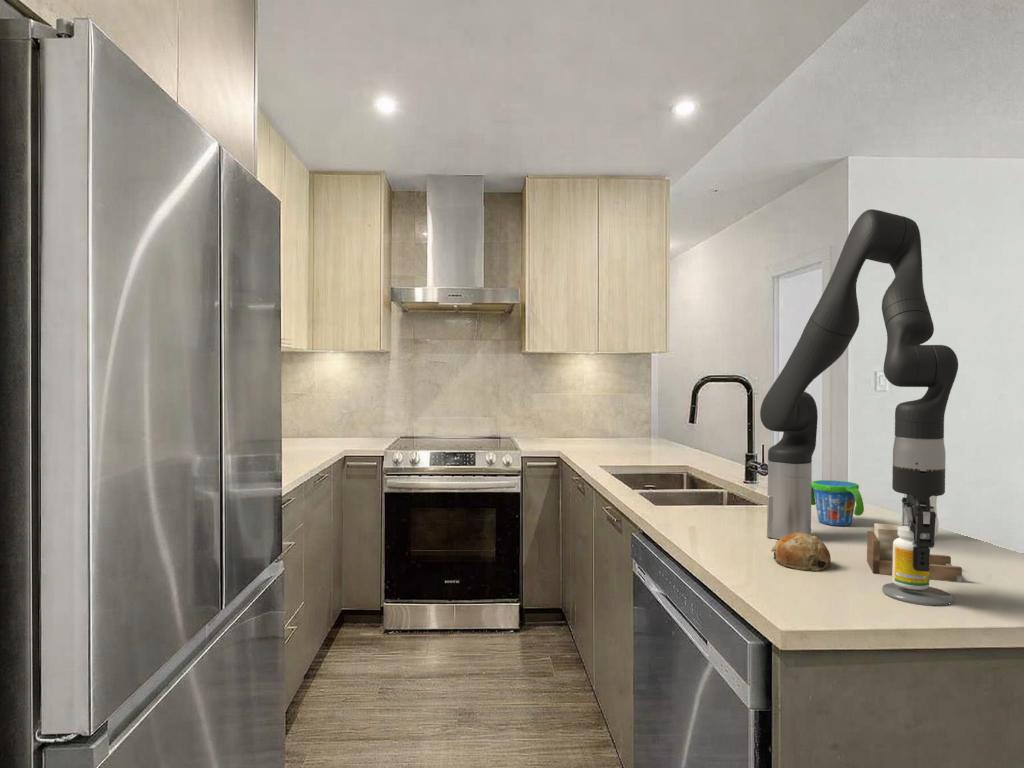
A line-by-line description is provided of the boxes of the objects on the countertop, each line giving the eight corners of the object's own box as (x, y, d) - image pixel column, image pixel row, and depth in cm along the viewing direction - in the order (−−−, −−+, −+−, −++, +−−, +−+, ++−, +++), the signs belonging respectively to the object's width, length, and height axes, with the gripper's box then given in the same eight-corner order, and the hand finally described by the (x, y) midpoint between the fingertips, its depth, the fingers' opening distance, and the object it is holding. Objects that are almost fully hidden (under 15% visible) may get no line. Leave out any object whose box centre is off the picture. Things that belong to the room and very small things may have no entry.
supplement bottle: (887, 579, 115) (888, 523, 115) (922, 581, 114) (922, 525, 114) (898, 589, 110) (899, 530, 110) (934, 591, 109) (935, 532, 108)
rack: (873, 573, 124) (873, 530, 124) (866, 560, 132) (867, 520, 132) (961, 582, 119) (962, 537, 119) (949, 568, 127) (949, 527, 127)
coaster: (887, 601, 108) (887, 597, 108) (878, 583, 118) (878, 580, 118) (959, 609, 105) (959, 605, 105) (944, 590, 114) (944, 586, 114)
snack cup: (796, 517, 173) (796, 478, 173) (831, 516, 175) (831, 477, 175) (837, 531, 158) (838, 488, 157) (876, 529, 160) (876, 487, 160)
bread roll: (795, 591, 125) (812, 557, 122) (757, 555, 133) (771, 523, 130) (831, 583, 129) (847, 550, 126) (791, 550, 138) (805, 518, 135)
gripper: (886, 458, 119) (884, 552, 119) (900, 468, 106) (899, 575, 106) (934, 460, 116) (933, 557, 117) (956, 471, 103) (954, 580, 103)
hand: (917, 565), depth 111 cm, fingers closed on supplement bottle, 5 cm apart
